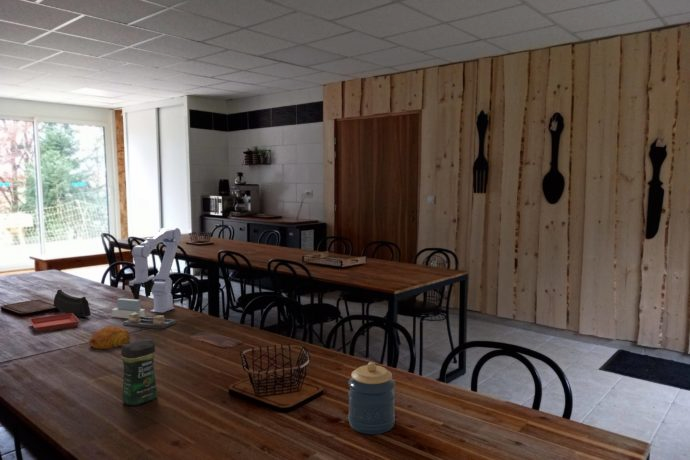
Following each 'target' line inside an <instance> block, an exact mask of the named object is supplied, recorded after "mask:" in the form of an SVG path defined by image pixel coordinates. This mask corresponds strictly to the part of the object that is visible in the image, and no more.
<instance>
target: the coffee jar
mask: <svg viewBox="0 0 690 460" xmlns="http://www.w3.org/2000/svg"><path fill="white" fill-rule="evenodd" d="M155 355H156V347H155V342H154V341H153V340H151V339H149V338H144V339H141V340H138V341H137V340H136V341H133V342H128V343H127V344H124V345H123V346H121V352H120V358H121V361H122V365H123V377H122V378H123V382H122V394H121V395H122V396H121V397H122V402H123V403H124V404H125V405H128V406H138V405H141V404H143V403H146V402H150V401H152V400H154V399H156V397H157V396H158V390H157V383H156V382H157V381H156V377H155V367H154V360H155Z"/></svg>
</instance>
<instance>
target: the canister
mask: <svg viewBox="0 0 690 460" xmlns="http://www.w3.org/2000/svg"><path fill="white" fill-rule="evenodd" d="M347 383H348V387H349V391H348V394H347V395H348V418H347V420H348V422H349V427H350V428H351V429H353V430H354V431H355V432H358V433H361V434H366V435H380V434H383V433H384V434H385V433H387V432H389V431H391V430H392V429H393V427H394V426H395V421H396V415H395V399H396V394H395V391H394V389H395V387H396V381H395V380H394V379H393V374H392V372H391V371H390V370H388V369H387V368H386V367H383V366H382V365H377V364H376V363H375V362H373V361H370V362H368V363H367V364H365V365H361V366H359V367H357V368H356V369H355V370H353V371H352V372H351V377H350V379H348V381H347Z"/></svg>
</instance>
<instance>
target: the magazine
mask: <svg viewBox="0 0 690 460" xmlns="http://www.w3.org/2000/svg"><path fill="white" fill-rule="evenodd" d="M56 291H57V292H56V293H55V296H54V298H53V306H54V307H55V308H56V309H57V310H59V312H60V311H61V312H62V313H63V314H68V313H73V314H74V315H75V316H76V317H84V318H86V317H90V316H91V315H92V314H91V310H90V305H89V300H88V299H87V297H85V296H83V297H77V296H72V295H70V294H67V293H66V292H64V291H63V290H62V289H58V290H56Z"/></svg>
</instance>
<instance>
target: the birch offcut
mask: <svg viewBox="0 0 690 460" xmlns="http://www.w3.org/2000/svg"><path fill="white" fill-rule="evenodd" d="M152 318H153V323H161V322H163V321H164V319H165V315H161V314H160V315H155V316H154V317H152Z"/></svg>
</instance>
